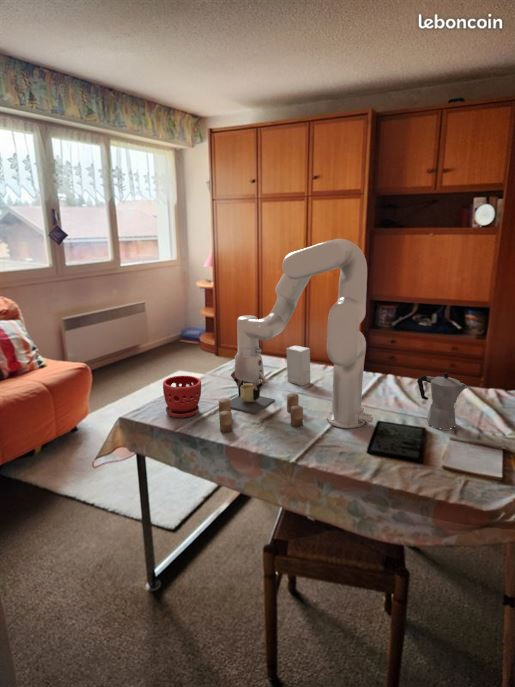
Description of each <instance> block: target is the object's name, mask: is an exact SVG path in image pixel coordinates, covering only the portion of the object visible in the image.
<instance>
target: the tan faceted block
mask: <svg viewBox="0 0 515 687" xmlns="http://www.w3.org/2000/svg"><path fill="white" fill-rule="evenodd" d="M254 389H255V388H254V385H253V383H243V385H242V386H240V399H241V400H242V401H244V402H254V401H255V400H253V390H254Z"/></svg>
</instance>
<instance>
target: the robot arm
mask: <svg viewBox="0 0 515 687" xmlns="http://www.w3.org/2000/svg"><path fill="white" fill-rule="evenodd" d="M361 249H362V248H360V246H358V245H357V244H355V243H354V242H352V241H350V240H349V239H344V238H334V239H330V240H326V241H323V242H320V243H317V244H315V245H312V246H308V247H305V248H303V249H299V250H296V251H292V252H289V253H288V254H287V255H286V256H285V257H284V258H283V261H282V264H281V266H282V267H281V268H282V272H283V273H282V275H281V276H280V279H279V281H278V282H277V284H276V286H275V288H274V290H275V294H276V301H275V303H274V305H273V307H272V309H271V310H270V312H269V314H268V315H267V316H265V317H262V318H259V319H258V317H257V316H255V315H252V314H251V315H250V314H249V315H248V314H247V315H241V316H238V318H237V320H236V330H237V332H236V333H237V337H236V338H237V353H236V354H235V355H236V359H235V358H234V370H233V371H232V373H230V377H231V378H232V380H233V381H234V382H235V383H236V386H237V388H238V389H237V390H238V395H239V397H240V386H242V385H243V384H245V383H244V382H248V383H249V382H250V383H252V384H253V385H254V388H255V389H254V390H253V400H257V399H258V398H259V397H260V396H261V388H262V387H263V386H265V385H266V384H267V383H268V379H267V378H266V377H265V375H264V374H265V372H264V363H263V358H262V354H261V353H262V348H260V344H259V343H260V342H259V341H263V342H266V341H270V340H272V339H274V337H276V336H278V335H279V334H281V333H282V332H283V331H284V330H285V329H286V327H287V324H288V323H289V322H290V320H291V318H292V316H293V314H294V312H295V309H296V307H297V305H298V302H299V299H300V297H301V295H302V294H303V292H304V290H305V288H306V287H307V285H308V283H309V281H310V280H311V278H312V276H316V275H320V274H322V273H325V272H331V271H334V270H336V269H339V272H340V273H339V280H338V294H337V301H336V302H335V303H334V304H333V305H332V306H331V307H330V309H329V311H328V317H327V329H326V330H327V331H326V354H327V357H328V359H329V360H330V361H331V363H333V374H332V377H333V378H332V399H331V400H332V402H331V403H332V404H331V411H330V412H328V413H327V415H326V421H327V422H328V423H330V424H331V425H332V426H335V427H337V428H342V429H357V428H359V427H362V426H363V425H364V424H365V423H373V421H374V416H372V414H371V413H367V412H364V407H362V396H363V380H364V379H363V378H364V365H365V357H366V350H367V349H366V348H367V341H366V337H365V336H364V334H363V333H362V332H361V331H360V324H361V323H362V322H363V321H364V319H365V318H366V311H367V310H366V309H367V308H366V307H367V306H366V305H367V289H368V288H367V287H368V286H367V283H368V281H367V280H368V266H367V260H366V257H365V253H364V252H363V251H362V250H361ZM260 380H261V381H260ZM356 427H357V428H356Z"/></svg>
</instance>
